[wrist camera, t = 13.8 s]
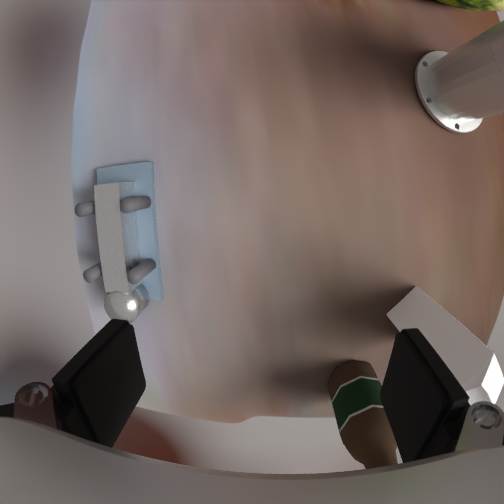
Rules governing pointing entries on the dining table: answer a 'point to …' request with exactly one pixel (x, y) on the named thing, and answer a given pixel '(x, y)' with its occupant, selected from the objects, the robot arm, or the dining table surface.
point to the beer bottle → (362, 415)
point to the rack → (145, 219)
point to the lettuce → (476, 4)
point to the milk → (451, 345)
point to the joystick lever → (119, 251)
